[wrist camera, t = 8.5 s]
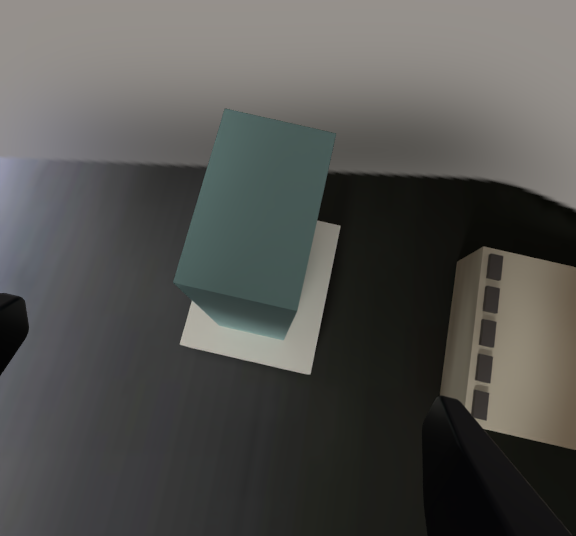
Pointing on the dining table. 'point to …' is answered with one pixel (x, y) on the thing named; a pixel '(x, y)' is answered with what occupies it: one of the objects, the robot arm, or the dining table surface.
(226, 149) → the teal pillar on base
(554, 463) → the dining table surface
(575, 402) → the beige flat block
